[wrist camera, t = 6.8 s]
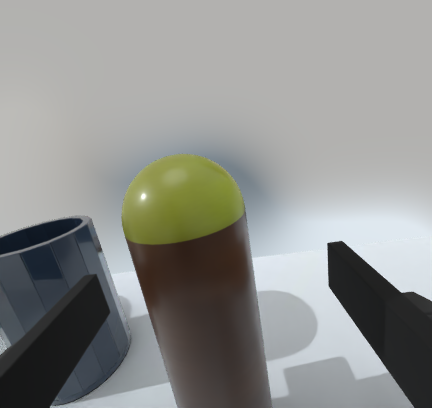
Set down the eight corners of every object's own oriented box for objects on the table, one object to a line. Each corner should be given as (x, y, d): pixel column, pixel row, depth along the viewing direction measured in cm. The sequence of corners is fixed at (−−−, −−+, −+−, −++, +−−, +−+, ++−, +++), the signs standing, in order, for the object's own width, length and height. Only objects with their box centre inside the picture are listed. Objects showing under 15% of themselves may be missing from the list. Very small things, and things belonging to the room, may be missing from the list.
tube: (132, 312, 24) (98, 209, 21) (128, 378, 17) (75, 238, 14) (54, 339, 22) (3, 230, 19) (14, 425, 15) (-78, 277, 12)
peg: (255, 394, 15) (214, 145, 10) (297, 487, 11) (260, 141, 6) (190, 427, 14) (113, 163, 9) (211, 544, 10) (89, 174, 5)
